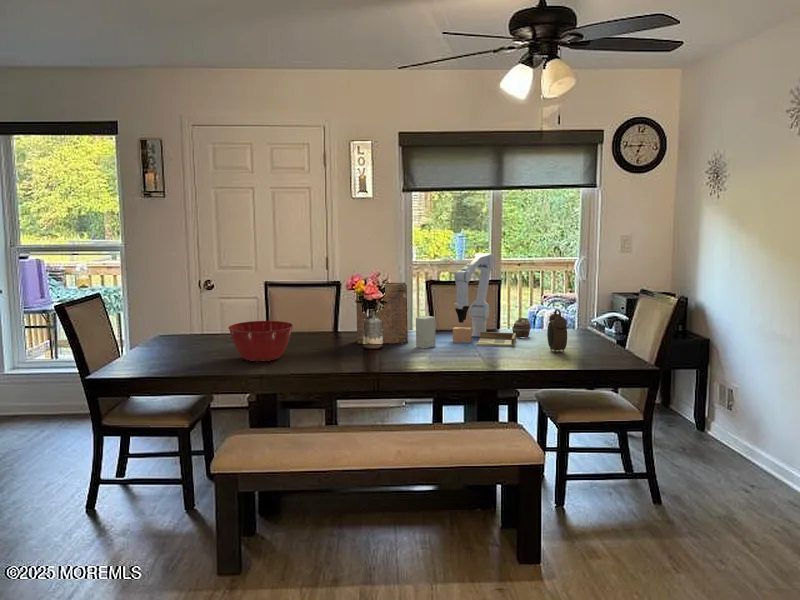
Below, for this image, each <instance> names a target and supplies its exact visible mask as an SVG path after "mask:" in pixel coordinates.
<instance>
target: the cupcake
mask: <svg viewBox="0 0 800 600" xmlns="http://www.w3.org/2000/svg"><path fill="white" fill-rule="evenodd" d="M511 328H512V333H516V337H528V336H529V337H530V332H531V328H532V326H531V322H530V319H529V318H526V317H518V319H517V320H516V321H515V322H514V323H513V326H512V327H511ZM529 337H528V338H529Z"/></svg>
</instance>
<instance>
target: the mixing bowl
mask: <svg viewBox="0 0 800 600" xmlns="http://www.w3.org/2000/svg"><path fill="white" fill-rule="evenodd" d="M293 327H294V324H293V323H291V322H287V321H279V320H255V321H245V322H238V323H235V324H231V325H229V326H228V330H229V332H230V336H231V339H232V341H233V344H234V346H235V348H236V350H237V352H238V354H239V355H240V356H241V357H242V358H243V359H244V360H246V361H248V360H249V361H248V362H250V361H268V360H274V359H276V360H277V359H279V358H280V357H281V356H282V355H283V354H284V352H285V351H286V348H287V346H288V343H289V342H290V338H291V335H292V332H293ZM274 361H275V360H274Z"/></svg>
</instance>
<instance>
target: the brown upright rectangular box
mask: <svg viewBox="0 0 800 600" xmlns="http://www.w3.org/2000/svg"><path fill="white" fill-rule="evenodd" d="M385 283H386V284H385V285H384V287H385V296H384V298H383V300H384V301H386V302H387V304H385V305H384V308H382V310H380V311H378V312H377V317H378V318H379V319H380V320H382V329H383V340H384V343H407V344H408V343H409V341H408V340H409V337H408V332H409V331H408V288H407V287H408V285H407V284H406V282H385ZM355 293H356V292H355ZM355 296H356V297H355V300H356V343H357V345H358V344H361V343H362V339H363V323H364V319H365V318H366V317H367V313H362V306H361V304H359V303H357V301H358V299H359V296H358V294H357V293H356V294H355Z"/></svg>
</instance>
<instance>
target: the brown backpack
mask: <svg viewBox="0 0 800 600" xmlns="http://www.w3.org/2000/svg"><path fill="white" fill-rule="evenodd" d="M548 317H549V318H548V325H547V344H548V346H549V349H550V350H551V351H554V354H557V353H556V352H557V351H562V353H563V354H565V349H566V347H567V344H568V329H567V320H566V318H565V317H563V316H562V312H561V310H560V309H559V308H556V309H554V312H553V313H552V314H550V315H549V316H548Z"/></svg>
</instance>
